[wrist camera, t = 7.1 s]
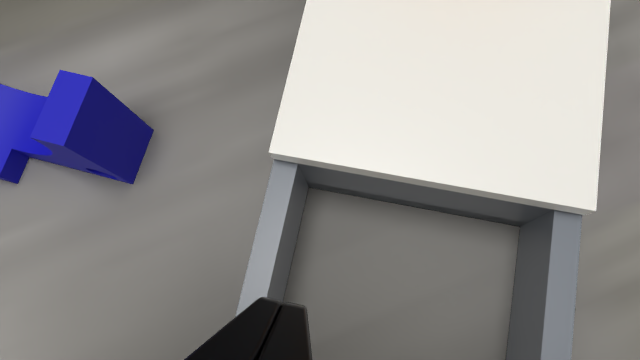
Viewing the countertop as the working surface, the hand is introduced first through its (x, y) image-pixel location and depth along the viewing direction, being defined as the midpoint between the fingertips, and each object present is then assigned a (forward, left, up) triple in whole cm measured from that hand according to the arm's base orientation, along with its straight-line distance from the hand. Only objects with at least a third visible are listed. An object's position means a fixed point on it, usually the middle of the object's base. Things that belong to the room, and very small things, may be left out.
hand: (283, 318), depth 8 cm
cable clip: (+12, +13, -14) cm, 23 cm away
